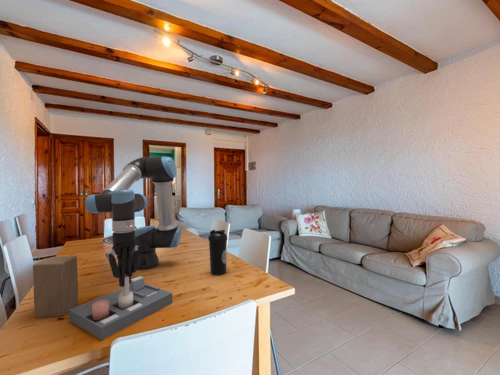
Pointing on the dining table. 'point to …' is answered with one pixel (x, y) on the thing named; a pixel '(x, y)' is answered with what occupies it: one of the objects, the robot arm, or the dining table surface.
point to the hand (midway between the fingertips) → (125, 293)
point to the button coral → (100, 310)
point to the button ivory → (125, 301)
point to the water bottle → (218, 252)
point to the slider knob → (137, 283)
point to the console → (120, 311)
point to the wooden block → (55, 286)
